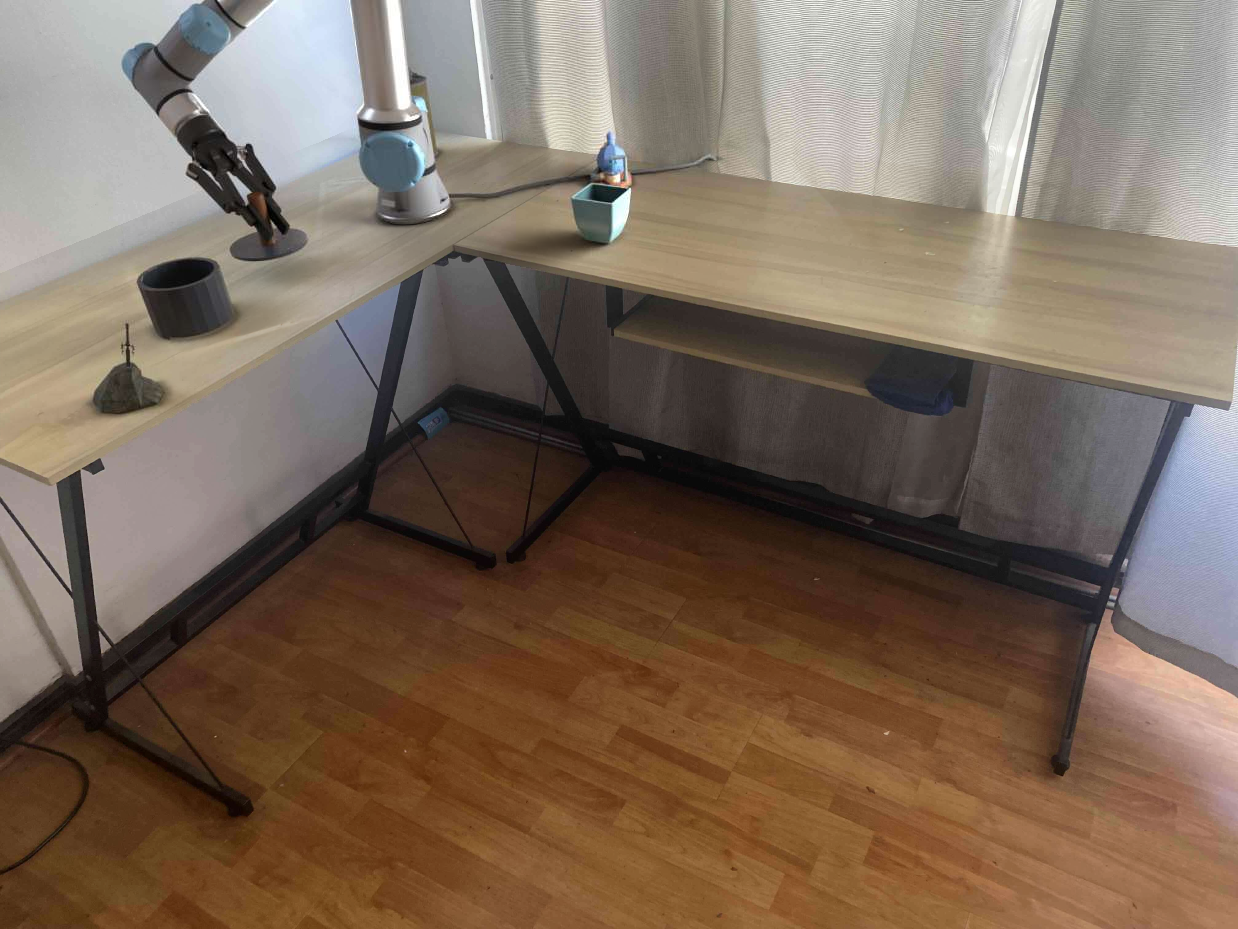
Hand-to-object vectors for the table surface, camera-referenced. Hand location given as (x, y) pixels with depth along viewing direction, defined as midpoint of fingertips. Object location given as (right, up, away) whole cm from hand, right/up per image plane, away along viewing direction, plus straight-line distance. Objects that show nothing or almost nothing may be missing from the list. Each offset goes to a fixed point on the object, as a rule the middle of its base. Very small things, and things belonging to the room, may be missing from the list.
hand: (278, 233), depth 164 cm
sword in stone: (-12, -32, -27) cm, 43 cm away
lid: (-3, -1, +4) cm, 5 cm away
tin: (-11, -17, -8) cm, 22 cm away
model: (+59, +21, +39) cm, 74 cm away
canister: (+12, +34, +60) cm, 70 cm away
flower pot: (+58, +3, +14) cm, 60 cm away
